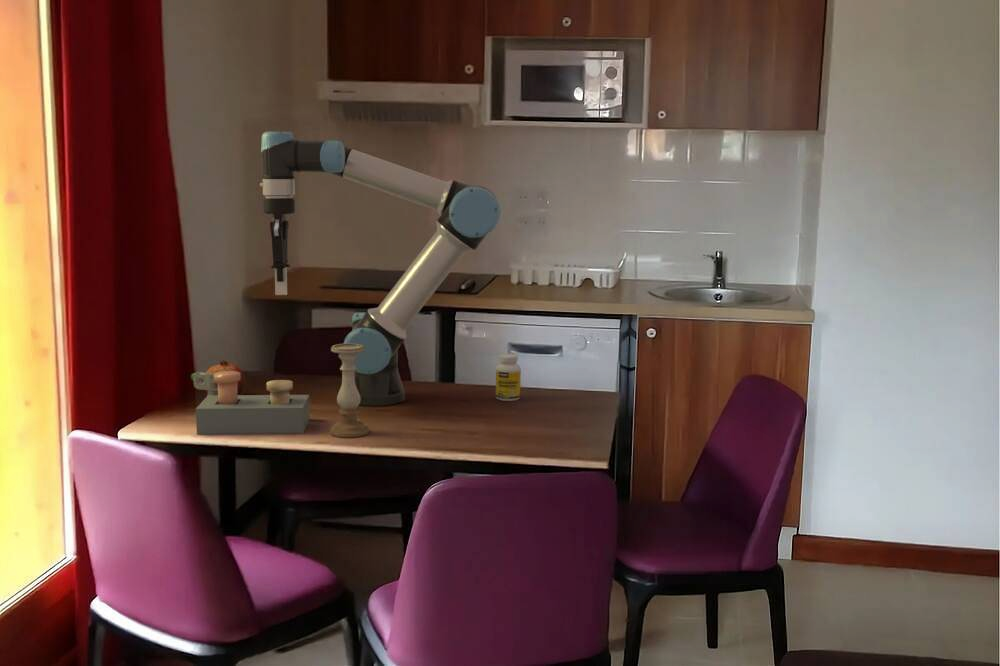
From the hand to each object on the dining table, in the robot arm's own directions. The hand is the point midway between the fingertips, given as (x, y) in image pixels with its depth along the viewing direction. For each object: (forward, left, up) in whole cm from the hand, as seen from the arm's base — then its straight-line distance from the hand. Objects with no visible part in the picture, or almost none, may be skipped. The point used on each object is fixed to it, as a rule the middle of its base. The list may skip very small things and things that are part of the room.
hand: (281, 294), depth 249 cm
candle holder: (-17, +20, -30) cm, 40 cm away
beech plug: (-1, +14, -28) cm, 32 cm away
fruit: (+17, -15, -30) cm, 37 cm away
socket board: (+5, +14, -29) cm, 33 cm away
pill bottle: (-57, -12, -30) cm, 65 cm away
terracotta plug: (+11, +14, -26) cm, 32 cm away
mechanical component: (+17, +1, -30) cm, 34 cm away
